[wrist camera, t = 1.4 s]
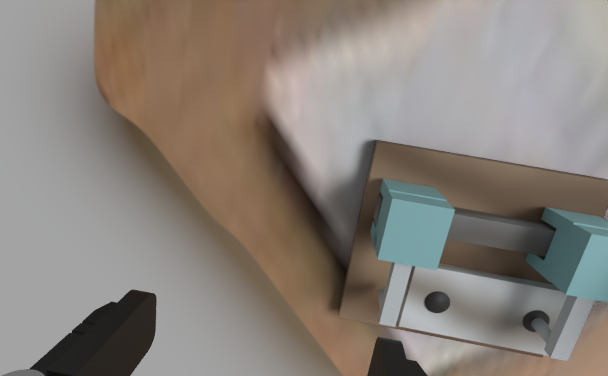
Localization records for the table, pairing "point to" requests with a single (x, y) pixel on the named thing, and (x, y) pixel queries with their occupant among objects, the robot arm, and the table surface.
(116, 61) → the table surface
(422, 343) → the table surface
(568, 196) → the board
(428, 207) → the sliding leg
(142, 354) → the robot arm
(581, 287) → the fixed leg
